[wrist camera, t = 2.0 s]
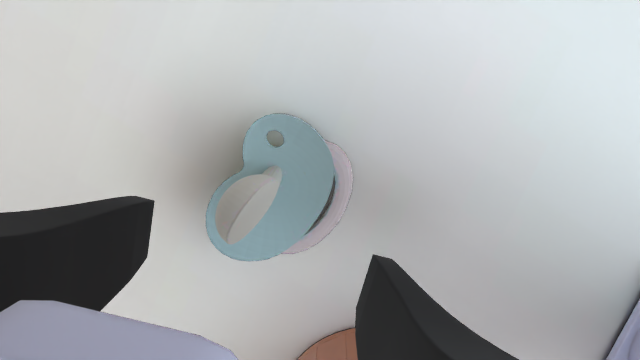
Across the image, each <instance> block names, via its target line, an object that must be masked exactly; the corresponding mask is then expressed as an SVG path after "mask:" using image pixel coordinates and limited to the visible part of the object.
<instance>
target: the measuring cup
mask: <svg viewBox="0 0 640 360" xmlns="http://www.w3.org/2000/svg"><path fill="white" fill-rule="evenodd" d="M298 360H358V358H357V348H356V338H355V328H351V329H348V330H344V331H340V332H337V333H335V334H333V335H330V336H328V337H326V338H324V339H322V340H320V341H319V342H317V343H315V344H314V345H313V346H311V347H310V348H309V349H307V350H306V351H305V352H304V353H303V354H302V355H301V356H300V357H299V358H298Z"/></svg>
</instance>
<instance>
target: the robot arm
mask: <svg viewBox="0 0 640 360" xmlns="http://www.w3.org/2000/svg"><path fill="white" fill-rule="evenodd" d="M153 208H154V200H150V199H145V198H141V197H137V196H126V197H118V198H111V199H105V200H99V201H93V202H87V203H81V204H75V205H68V206H61V207H54V208H47V209H40V210H31V211H20V212H6V213H0V360H238V359H237V357H236V356H235V355H234V354H233V352H232V351H231V350H229V349H227V348H225V347H223V346H221V345H219V344H216V343H214V342H212V341H210V340H208V339H206V338H204V337H202V336H200V335H196V334H192V333H187V332H183V331H179V330H175V329H171V328H166V327H162V326H158V325H154V324H150V323H146V322H141V321H137V320H133V319H129V318H125V317H120V316H116V315H112V314H108V313H104V312H100V311H101V310H102V309H103V308H104V307H105V306H106V305H107V304H108V303H109V302H110V301H111V300H112V299H113V298H114V297H115V296H116V295H117V294H118V293H119V292H120V291H121V290H122V289H123V287H124V286H125V285H126V284H127V283H128V282H129V281H130V280H131V279H132V277H133V276H134V275H135V273H136V272H137V271H138V269H139V268H140V267H141V265H142V264H143V262H144V261H145V260H146V258H147V254H148V247H149V239H150V231H151V224H152V216H153ZM355 338H356V348H357V358H358V360H519V359H517V358H515V357H513V356H511V355H510V354H508V353H506V352H504V351H503V350H501V349H499V348H498V347H496V346H495V345H493V344H491V343H490V342H488V341H487V340H485V339H483V338H482V337H480V336H479V335H477V334H476V333H475V332H473V331H472V330H470V329H469V328H468V327H466V326H465V325H464V324H462V323H461V322H460V321H458V320H457V319H456V318H454V317H453V316H452V315H450V314H449V313H448V312H447V311H446V310H444V309H443V308H442V307H441V306H440V305H439V304H438V303H437V302H435V301H434V300H433V299H432V298H431V297H430V296H429V295H428V294H427V293H426V292H425V291H424V290H423V289H422V288H421V287H420V286H419V285H418V284H417V283H416V282H415V281H414V280H413V279H412V278H411V277H410V276H409V275H408V274H407V273H406V272H405V271H404V270H403V269H402V268H401V267H400V266H399V265H398V264H397V263H396V262H395V261H393V260H392V259H390V258H385V257H381V256H377V255H373V256H372V259H371V262H370V265H369V268H368V272H367V275H366V278H365V281H364V284H363V288H362V291H361V294H360V297H359V300H358V303H357V307H356V321H355ZM606 360H640V299H639V301H638V303H637V305H636V306H635V308H634V310H633V312H632V314H631V315H630V317H629V319H628V321H627V323H626V324H625V326H624V328H623V330H622V332H621V333H620V335H619V337H618V339H617V341H616V343H615V344H614V346H613V348H612V350H611V352H610V353H609V355H608V357H607V359H606Z"/></svg>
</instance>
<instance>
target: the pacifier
mask: <svg viewBox="0 0 640 360" xmlns="http://www.w3.org/2000/svg"><path fill="white" fill-rule="evenodd" d="M272 130H274V131H278V132H280V133H281V134H282V135H283V138H284V143H283V145H281V146H279V147H275V146H272V145H271V144H269V142H268V141H267V133H268V132H269V131H272ZM243 161H244V166H243V169H242V170H241V171H240V172H239V173H237V174H235V175H232V176H231V177H230V178H228V179H227V180H225V181H224V182H223V183H222V184H221V185H220V186H219V187H218V188H217V190H216V191H215V193H214V194H213V196H212V198H211V200H210V202H209V204H208V208H207V213H206V228H207V232H208V236H209V238H210V240H211V242H212V243H213V245H214V246H215V247H216V249H218V250H219V251H220V252H221V253H223V254H224V255H226V256H228V257H230V258H233V259H236V260H241V261H259V260H266V259H269V258H271V257H274V256H277V255H279V254H280V253H281V254H294V253H297V252H301V251H304V250H307V249H309V248H310V247H312V246H314V245H316V244H318V243H319V242H320V241H321V240H322V239H323V238H325V237H326V236H327V235H328V234H329V233H330V232H331V231H332V230H333V228H334V227H335V226H336V225H337V223H338V222H339V221H340V219H341V217H342V215H343V213H344V211H345V210H346V208H347V205H348V202H349V199H350V196H351V192H352V183H353V174H352V168H351V163H350V161H349V159H348V157H347V155H346V153H345V152H344V151H343V150H342V149H341V148H340V147H339V146H337V145H336V144H334V143H331V142H328V141H325V140H324V139H323V138H322V137H321V136H320V134H319V133H318V132H317V131H316V130H315V129H314V128H313V127H312V126H311V125H309V124H308V123H306V122H305V121H303V120H302V119H299V118H297V117H295V116H292V115H288V114H271V115H266V116H264V117H262V118H260V119H258V120H257V121H255V122H254V123H253V124H252V125H251V127H250V128H249V130H248V131H247V133H246V136H245V139H244V143H243ZM334 175H335V189H334V193H333V196H332V199H331V202H330V204H329V206H328V207H327V209H326V211H325V212H324V214H323V215H322V216H321V218H320V219H319V220H318V221H317V222H316V223H315V224H314V222H315V221H316V220H317V218H318V217H319V215H320V213H321V212H322V210H323V208H324V206H325V204H326V202H327V200H328V198H329V195H330V192H331V189H332V184H333V178H334ZM313 224H314V225H313ZM312 225H313V226H312Z"/></svg>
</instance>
